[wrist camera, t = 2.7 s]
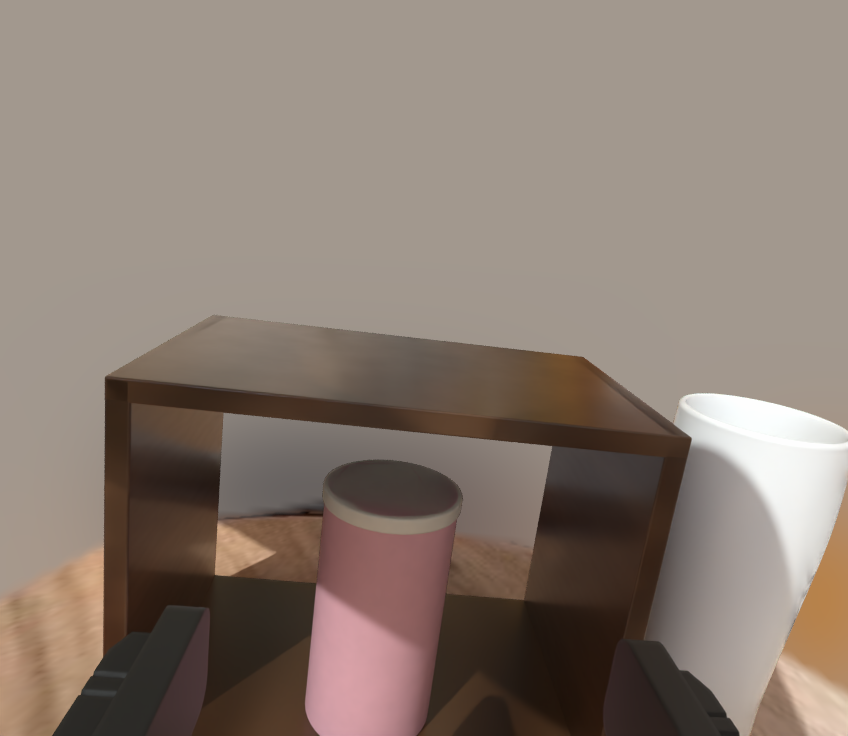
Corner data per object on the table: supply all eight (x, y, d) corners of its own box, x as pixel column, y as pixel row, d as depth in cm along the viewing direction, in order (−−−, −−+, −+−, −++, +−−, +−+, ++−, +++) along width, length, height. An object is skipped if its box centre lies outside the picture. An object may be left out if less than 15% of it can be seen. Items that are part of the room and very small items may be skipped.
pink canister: (293, 752, 24) (315, 512, 21) (310, 655, 29) (330, 453, 27) (434, 761, 24) (471, 526, 22) (426, 663, 29) (455, 465, 27)
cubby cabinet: (101, 783, 23) (103, 375, 19) (199, 589, 34) (212, 314, 31) (604, 810, 24) (693, 437, 21) (534, 616, 36) (583, 356, 32)
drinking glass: (584, 673, 32) (645, 388, 28) (695, 661, 34) (765, 395, 30) (669, 792, 25) (761, 444, 22) (799, 769, 27) (903, 447, 24)
